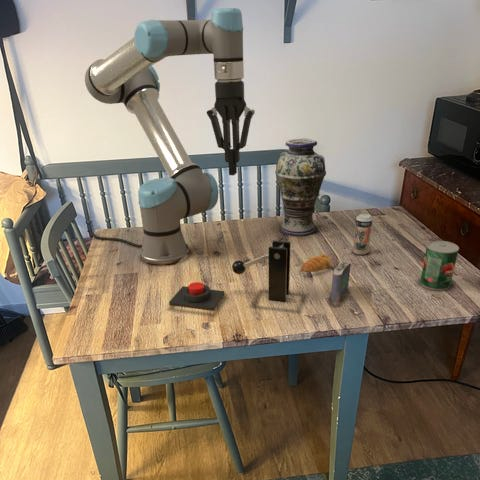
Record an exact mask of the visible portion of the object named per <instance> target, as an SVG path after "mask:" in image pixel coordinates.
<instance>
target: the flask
mask: <svg viewBox="0 0 480 480" xmlns="http://www.w3.org/2000/svg"><path fill="white" fill-rule="evenodd" d="M336 263H338V264H337V265H336V266H335V268H334V270H333V272H332V282H331V293H330V300H331V302H334V303H338V302H340V300H341V298H342V296H343V294H344V293H346V291H348V289H349V281H350V273H351V266H352V263H351V261H349V260H342V259H338V260H337V262H336Z"/></svg>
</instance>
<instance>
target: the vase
mask: <svg viewBox="0 0 480 480" xmlns="http://www.w3.org/2000/svg"><path fill="white" fill-rule="evenodd" d="M317 145H318V141H316V140H315V139H313V138H292V139H288V140H286V141H285V146H286V147H288V151H283V152H281V153H280V154H279V155H278V160H277V162H276V163H277V164H276V166H275V171H274V174H275V176H276V179H277V183H278V187H279V196H280V198H281V200H282V206H283V207H282V208H283V215H284V216H283V221H282V225H281V228H280V231H281V232H282V233H283V234H285V235H287V236H296V237H302V236H309V235H312V234H315V232H316V226H315V224H314V218H313V217H314V216H313V215H314V211H315V204H316V202H317V199H318V198H319V197H320V191H321V187H322V185H323V181H324V180H325V177H326V175H327V170H326V161H325V157H324V156H323V155H322V154H319V153H317V152H315V151H314V147H316V146H317Z"/></svg>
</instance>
